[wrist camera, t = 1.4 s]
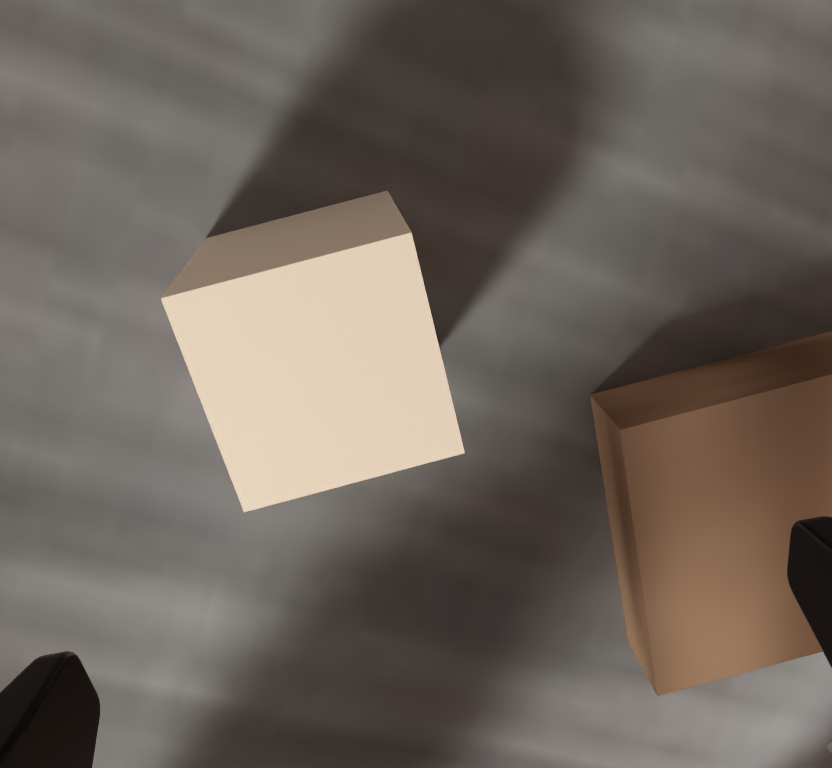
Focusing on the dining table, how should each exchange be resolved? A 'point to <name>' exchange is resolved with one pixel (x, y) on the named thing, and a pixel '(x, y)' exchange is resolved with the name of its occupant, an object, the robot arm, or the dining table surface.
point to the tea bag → (830, 746)
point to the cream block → (315, 351)
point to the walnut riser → (716, 507)
